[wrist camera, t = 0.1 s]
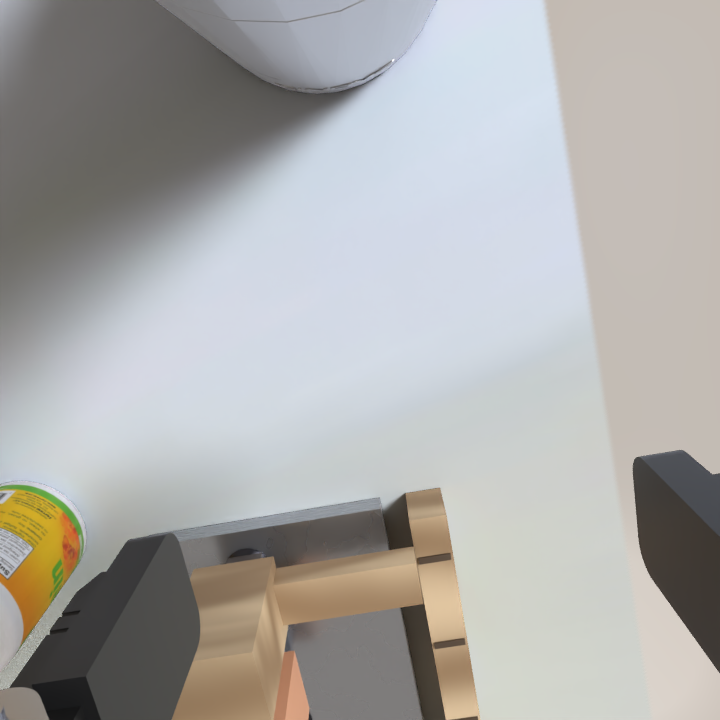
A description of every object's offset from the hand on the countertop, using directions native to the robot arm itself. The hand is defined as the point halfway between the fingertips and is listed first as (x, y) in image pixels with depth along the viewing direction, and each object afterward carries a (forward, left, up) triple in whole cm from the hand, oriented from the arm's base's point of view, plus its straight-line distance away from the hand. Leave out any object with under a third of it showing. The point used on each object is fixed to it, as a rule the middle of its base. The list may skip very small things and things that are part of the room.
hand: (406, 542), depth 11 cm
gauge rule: (+16, -4, -17) cm, 24 cm away
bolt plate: (+16, -7, -17) cm, 24 cm away
